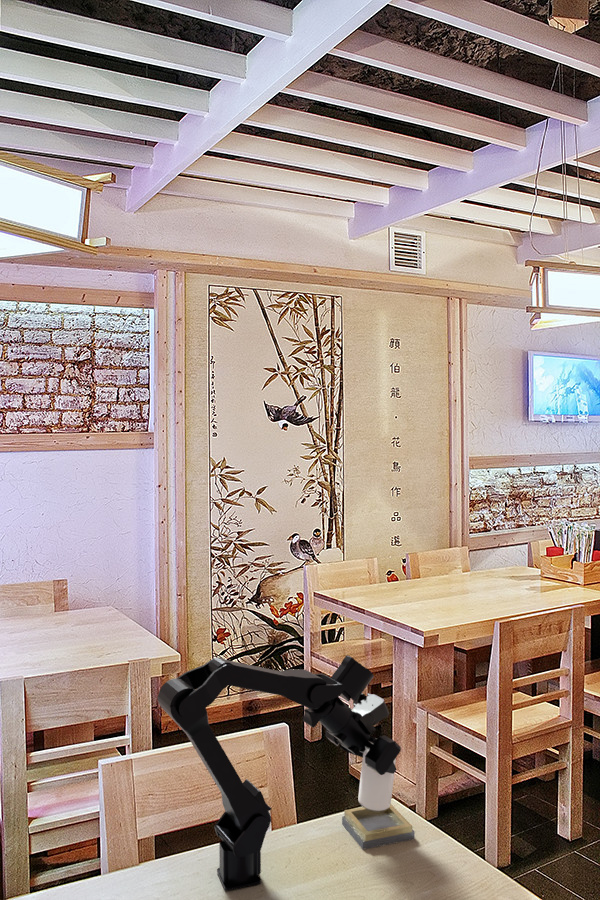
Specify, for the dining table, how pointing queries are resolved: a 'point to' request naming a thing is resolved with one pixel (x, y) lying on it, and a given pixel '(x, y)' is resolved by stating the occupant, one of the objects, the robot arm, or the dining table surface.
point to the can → (375, 787)
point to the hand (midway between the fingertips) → (385, 765)
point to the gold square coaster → (377, 827)
